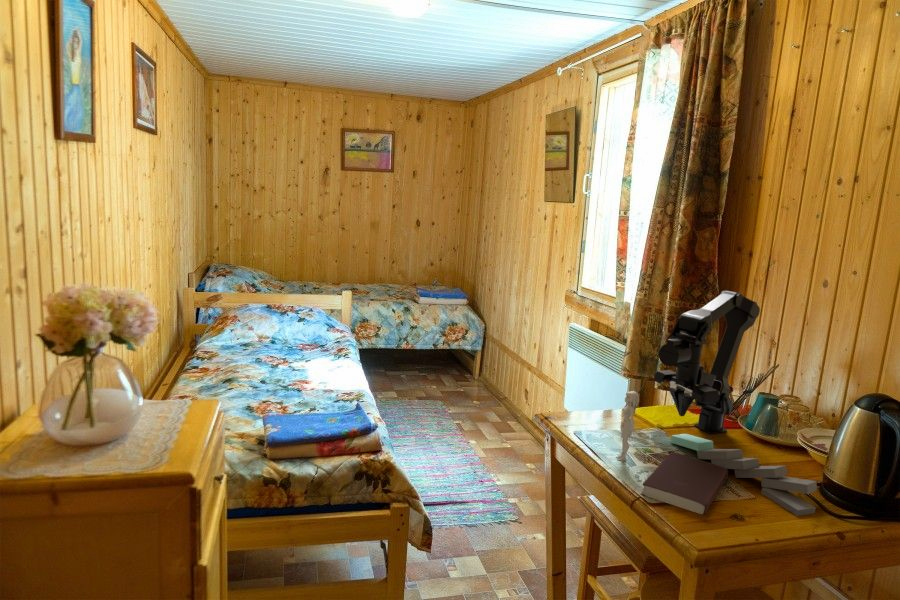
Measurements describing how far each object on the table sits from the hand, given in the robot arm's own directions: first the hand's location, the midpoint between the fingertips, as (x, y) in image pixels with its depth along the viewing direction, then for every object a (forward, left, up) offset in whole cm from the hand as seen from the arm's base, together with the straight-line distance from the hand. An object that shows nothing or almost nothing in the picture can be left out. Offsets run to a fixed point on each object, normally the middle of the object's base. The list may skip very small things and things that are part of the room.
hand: (681, 415), depth 169 cm
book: (+17, +22, -8) cm, 29 cm away
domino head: (0, 0, -6) cm, 7 cm away
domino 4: (-2, +27, -6) cm, 28 cm away
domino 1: (0, +10, -6) cm, 12 cm away
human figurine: (+22, +5, -8) cm, 24 cm away
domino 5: (-1, +29, -7) cm, 30 cm away
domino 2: (0, +15, -7) cm, 16 cm away
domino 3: (-1, +21, -6) cm, 22 cm away
